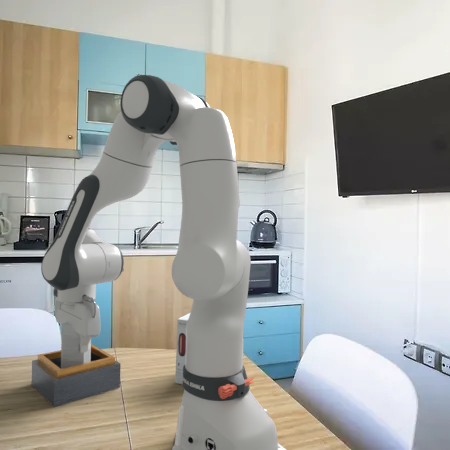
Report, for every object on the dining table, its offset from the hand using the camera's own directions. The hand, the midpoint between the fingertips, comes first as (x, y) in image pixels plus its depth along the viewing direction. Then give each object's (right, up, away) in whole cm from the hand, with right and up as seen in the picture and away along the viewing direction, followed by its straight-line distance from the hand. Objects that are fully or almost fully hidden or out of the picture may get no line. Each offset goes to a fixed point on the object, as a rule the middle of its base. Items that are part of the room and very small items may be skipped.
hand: (76, 347), depth 96 cm
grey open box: (-1, -10, +1) cm, 10 cm away
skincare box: (0, -6, 0) cm, 6 cm away
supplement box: (+30, -11, +5) cm, 33 cm away
